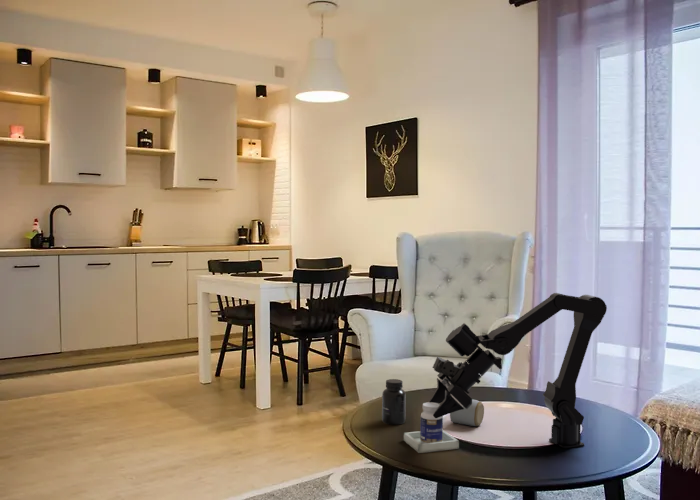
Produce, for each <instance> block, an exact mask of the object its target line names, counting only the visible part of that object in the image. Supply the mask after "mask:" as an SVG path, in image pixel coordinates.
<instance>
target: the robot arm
mask: <svg viewBox="0 0 700 500" xmlns="http://www.w3.org/2000/svg"><path fill="white" fill-rule="evenodd" d="M607 309H608V308H607V304H606V303H605V301H604V300H603V299H602V298H601V297H599V296H594V295H590V294H583V295H581V296H573V295H568V294H563V293H559V292H553V293H552V294H550V295H549V296H548V297H547V298H546V299H545V300H543V301H542V302H539V304H537V305H535V307H533V308H531V309H530V310H529V311H528V312H527V311H526V312H525V313H524V314H523V315H521V316H520V317H519V318H517V319H516V320H514V321H513V322H510V323H508V324H504V325H501V326H499V327H497V328H495V329H492V330H491V331H490V332H489V333H487V334H481V335H476V334H475V332H473V330H471V328H470V327H469V326H468V325H467V324H466V323H465V322H463V323H462V324H461V325H460V326H458V327H456V328H455V329H453V330H452V331H451V332H449V334H448V335H447V337H446V339H445V342H446V343H447V344H448V345H449V346H450V347H451V348H452V349H453V350H454V351H455V352H456V353H457V354H458V355H459V356H460V357H465V356H466V357H468V358H467V359H465V361H463V362H462V361H461V362H460V361H459V362H458V363H457V364H454V362H453V361H451V360H449V359H444V358H441V357H439V356H437V357H436V359H435V361H434V363H433V366H432V369H433V370H434V371H435V372H436V373H438V374H437V378H436V383H437V384H436V385H437V387H436V389H435V391H434V393H433V395H432V396H431V397H430V400H429V401H428V402H434V403H438V404H440V406H439V407H438V408H437V410H436V411H435V413H434V414H433V416H434V417H435V418H438V417H441V416H443V417H444V416H447V415H450V413H452V412H455V411H458V410H461V409H462V410H463V409H464V408H463V406H464V407H465V408H466V409H468V408H469V407H470V406H471V404H472V399H473V398H472V397H471V396H470V395H469V394H470V392H469V390H470V389H471V388H472V387H474V385H476V383H477V385H478V384H480V383H481V380H480V379H481V378H482V377H483V376H484V375H485V374H486V373H487V372H488V371H490V369H491V368H492V367H493V366H495V367H496V368H497V369H499V370H501V369H503V367H502V361H503V358H502V357H500V356H506V355H508V354H510V353H511V352H513V350H515V348H516V347H517V346H518V345H519V344H520V343H521V341H522V340H523V338H524V337H525V336H527V335H528V334H529V333H530V332H532V331H533V330H534V329H536V328H537V327H539V326H540V325H542V324H543V323H545V322H546V321H547V320H549V319H550V318H551V317H553V316H555V314H558V313H559V312H560V311H563V310H564V311H569V312H573V325H574V326H573V330H572V332H571V335H570V338H569V341H568V345H567V347H566V351H565V354H564V356H563V361H562V362H561V363H562V364H561V366H560V370H559V373H558V376H557V378H556V379H554V381H553V382H552V381H547V383H546V389H545V391H544V393H543V394H542V396H543V397H544V400H543V401H544V404H545V407H546V408H547V409H548V410H549V411H550V412H551V414H552V415H551V416H554V417H555V418H553V419H552V425H551V438H548V441H549V442H551V443H553V444H555V443H556V444H555V445H557V444H559V446H558V447H561V448H562V449H569V448H578V447H584V446H585V443H584V442H582V441H581V428H582V427H581V425H583V422H584V418H585V417H584V415H583V414H582V413H580V412H579V410H578V409H577V408H576V401H577V392H576V390H577V389H576V385H577V381H578V378H579V375H580V371H581V368H582V366H583V361H584V359H585V356H586V353H587V349H588V347H589V343H590V340H591V338H592V334H593V333H594V331H595V330H596V329H597V327H598V326H599V325H600V324H601V323H602V321H603V319H604V317H605V315H606V314H607ZM479 345H481V346H482V347H483V348H484V349H486V350H484V349H483V348H481V346H479ZM490 350H491V351H493V352H494V353H495V354H497V355H500V356H495V354H494V353H492V352H491V351H490Z"/></svg>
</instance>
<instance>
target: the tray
mask: <svg viewBox="0 0 700 500" xmlns="http://www.w3.org/2000/svg"><path fill="white" fill-rule="evenodd" d="M403 441H404V442H405V443H406V444H407V445H409V447H411V448H412V449H413V450H414V451H416V452H417V453H418V454H424V453H425V454H426V453H432V452H442V451H448V450H449V451H450V450H451V451H452V450H459V449H460V441H459V440H458V439H457V438H456V437H454V436H453V435H451V434H450V433H448V432H447V431H446V430H444V429H443V431H442V442H433V443H424V444H423V443H421V441H420V431H410V432H403Z"/></svg>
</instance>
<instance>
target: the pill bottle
mask: <svg viewBox="0 0 700 500" xmlns="http://www.w3.org/2000/svg"><path fill="white" fill-rule="evenodd" d="M440 404H441V403H439V404H438V403H434V402H429V401H428V402H423V403H422V412H421V414H420V424H419V425H420V428H419V429H420V441H421V443H423V444H424V443H433V442H442V431H443V430H444V429H443V423H444V422H443V421H444V419H443V417H444V416H441V417H438V418H435V417H434V416H433V414H434V413H435V411H436V410H437V408H438V407H439V406H440Z"/></svg>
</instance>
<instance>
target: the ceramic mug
mask: <svg viewBox="0 0 700 500" xmlns="http://www.w3.org/2000/svg"><path fill="white" fill-rule="evenodd" d="M463 408H464V409H463V410H462V409H461V410H458V411H455V412H452V413H449V417H450V421H451V422H452V423H454V424H460V425H465V426H472V427H479V426H480V425H481V424H482V422H483V420H484V416H485V406H484V403H482V401H479V400H477V399H473V398H472V404H471V406H470V407H469V408H468V409H466V408H465V407H464V406H463Z"/></svg>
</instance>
